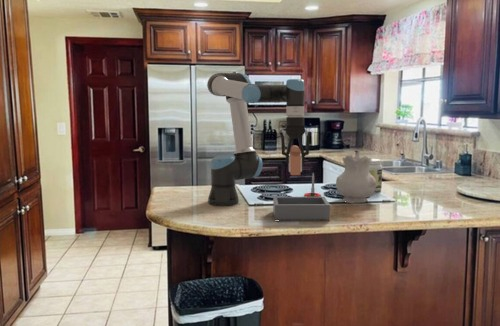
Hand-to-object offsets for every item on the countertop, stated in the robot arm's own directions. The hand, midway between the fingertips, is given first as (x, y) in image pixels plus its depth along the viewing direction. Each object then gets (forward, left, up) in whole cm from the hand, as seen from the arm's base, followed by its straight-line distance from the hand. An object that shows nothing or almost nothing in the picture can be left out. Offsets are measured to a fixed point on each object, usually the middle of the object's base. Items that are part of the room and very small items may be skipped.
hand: (295, 171), depth 183 cm
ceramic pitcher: (+33, +29, -20) cm, 49 cm away
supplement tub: (+47, +53, -20) cm, 74 cm away
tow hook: (+13, +39, -21) cm, 46 cm away
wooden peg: (0, 0, -1) cm, 1 cm away
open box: (+3, 0, -20) cm, 20 cm away
